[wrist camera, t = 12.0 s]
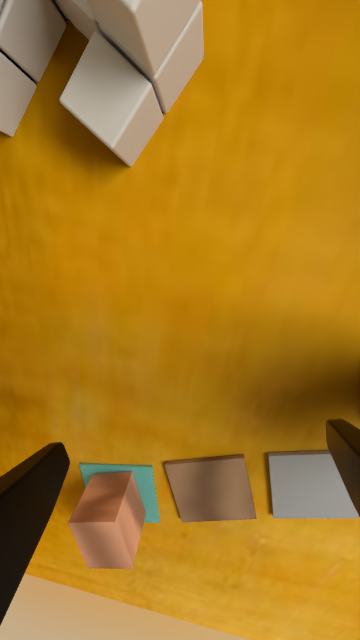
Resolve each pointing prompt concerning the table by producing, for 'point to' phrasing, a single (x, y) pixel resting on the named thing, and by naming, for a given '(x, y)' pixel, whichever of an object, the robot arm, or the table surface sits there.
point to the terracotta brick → (109, 520)
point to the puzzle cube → (103, 63)
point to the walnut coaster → (211, 488)
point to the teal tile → (143, 482)
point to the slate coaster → (307, 486)
